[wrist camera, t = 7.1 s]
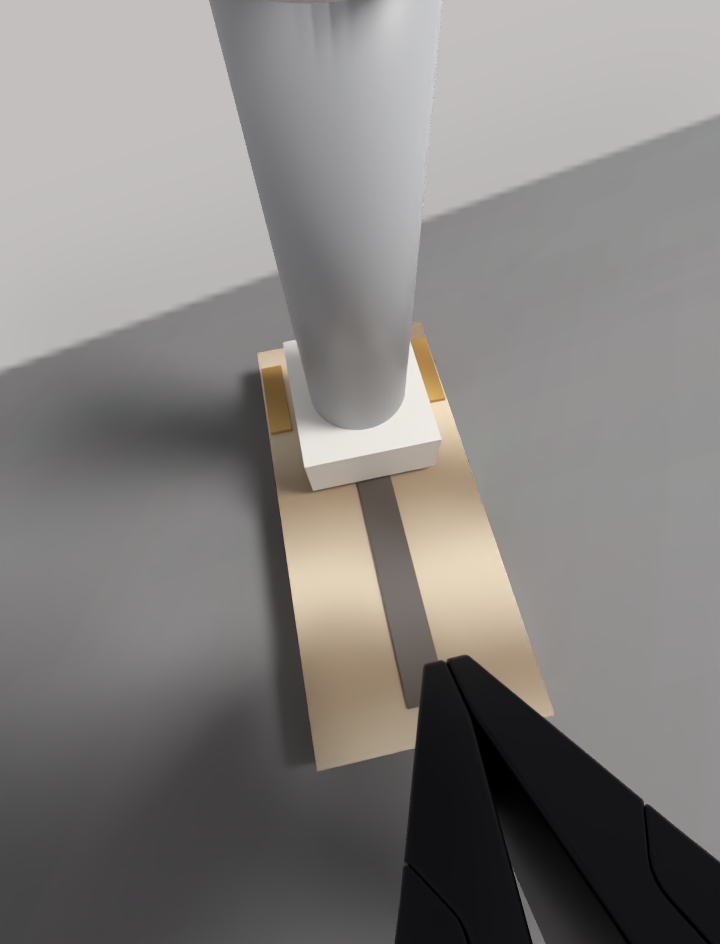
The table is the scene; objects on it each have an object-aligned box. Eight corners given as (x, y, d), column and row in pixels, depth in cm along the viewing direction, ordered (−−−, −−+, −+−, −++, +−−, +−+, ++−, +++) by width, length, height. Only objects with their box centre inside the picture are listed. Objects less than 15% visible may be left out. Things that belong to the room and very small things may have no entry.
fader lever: (434, 465, 16) (848, -1021, 2) (313, 491, 16) (-238, -970, 2) (400, 354, 18) (479, -765, 4) (292, 376, 18) (-35, -724, 4)
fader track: (537, 710, 14) (557, 715, 13) (322, 761, 14) (316, 773, 12) (417, 345, 20) (420, 318, 19) (265, 374, 20) (256, 349, 18)
